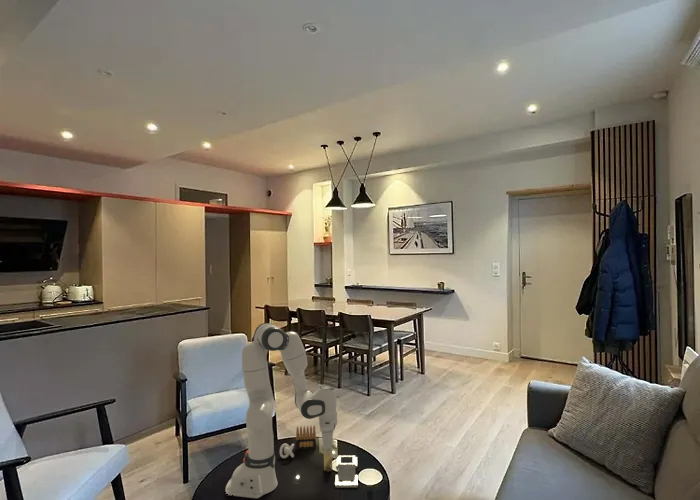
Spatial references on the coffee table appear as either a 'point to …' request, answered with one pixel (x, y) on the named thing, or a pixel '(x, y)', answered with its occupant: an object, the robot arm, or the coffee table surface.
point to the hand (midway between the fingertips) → (329, 449)
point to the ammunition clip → (306, 438)
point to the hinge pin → (327, 461)
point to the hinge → (346, 472)
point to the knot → (287, 450)
